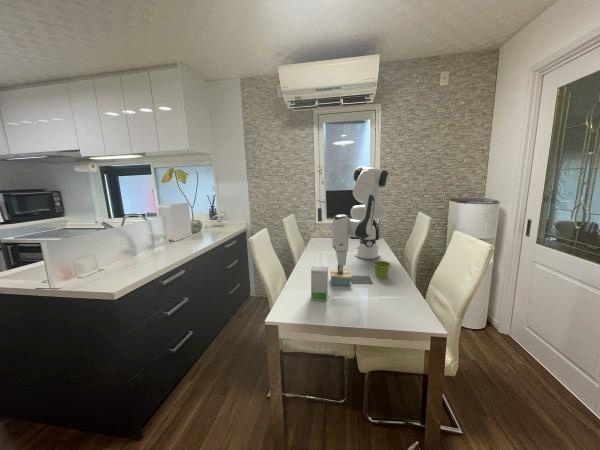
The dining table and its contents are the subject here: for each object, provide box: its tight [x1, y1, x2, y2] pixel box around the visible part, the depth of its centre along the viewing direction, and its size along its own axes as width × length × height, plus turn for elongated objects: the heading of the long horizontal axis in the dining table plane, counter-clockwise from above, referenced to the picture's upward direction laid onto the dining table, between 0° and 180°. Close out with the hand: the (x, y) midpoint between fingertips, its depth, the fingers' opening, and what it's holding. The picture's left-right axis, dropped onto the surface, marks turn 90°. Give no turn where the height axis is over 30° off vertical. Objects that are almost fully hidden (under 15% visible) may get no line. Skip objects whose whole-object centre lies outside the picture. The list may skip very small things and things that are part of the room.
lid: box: [329, 264, 353, 280], centre depth 142 cm, size 11×11×5 cm
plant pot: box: [373, 260, 391, 279], centre depth 148 cm, size 9×9×9 cm
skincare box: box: [310, 265, 329, 302], centre depth 125 cm, size 8×7×16 cm
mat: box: [350, 275, 374, 285], centre depth 145 cm, size 12×12×1 cm
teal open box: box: [330, 278, 351, 287], centre depth 143 cm, size 10×10×5 cm
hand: (340, 267), depth 141 cm, fingers open, 8 cm apart
